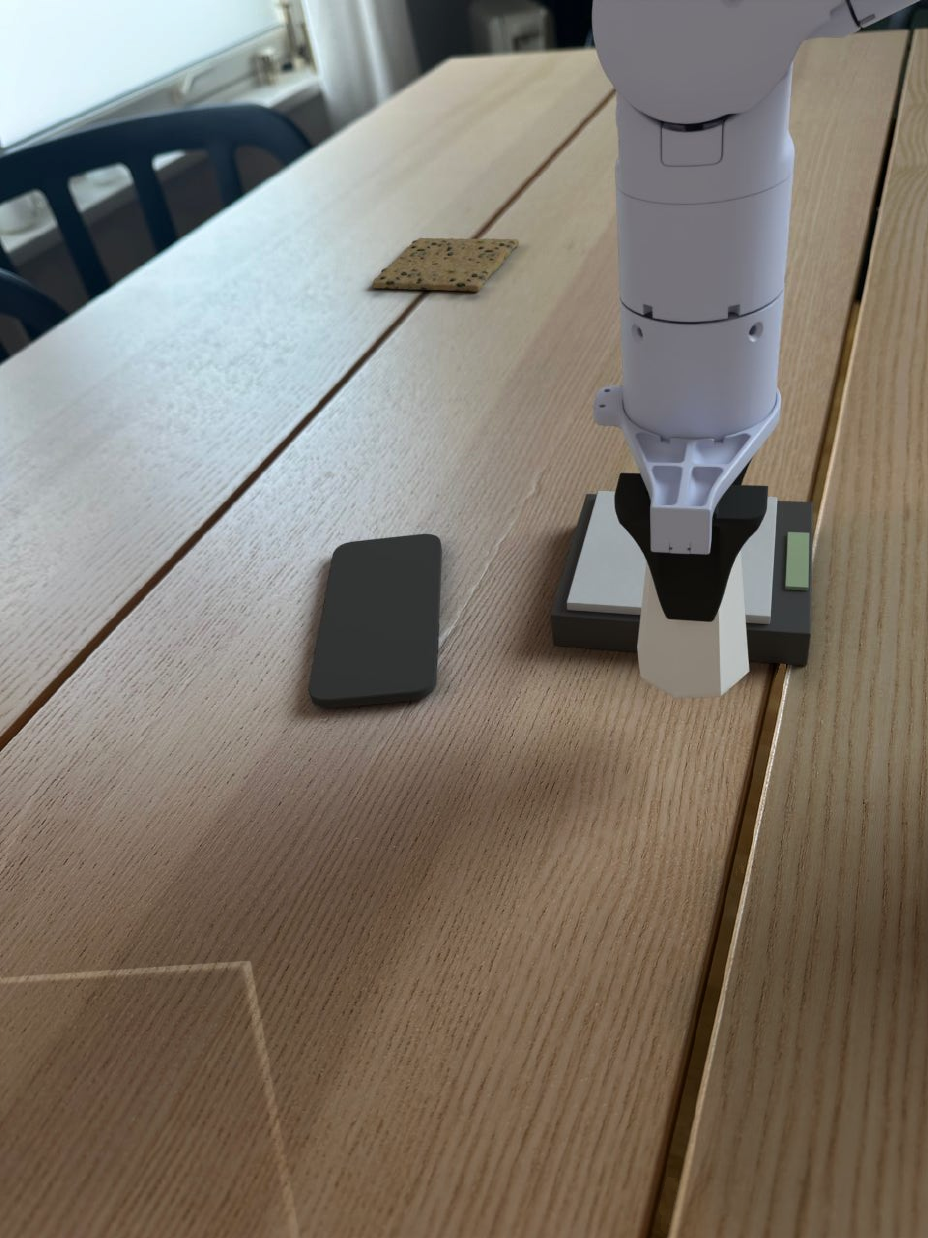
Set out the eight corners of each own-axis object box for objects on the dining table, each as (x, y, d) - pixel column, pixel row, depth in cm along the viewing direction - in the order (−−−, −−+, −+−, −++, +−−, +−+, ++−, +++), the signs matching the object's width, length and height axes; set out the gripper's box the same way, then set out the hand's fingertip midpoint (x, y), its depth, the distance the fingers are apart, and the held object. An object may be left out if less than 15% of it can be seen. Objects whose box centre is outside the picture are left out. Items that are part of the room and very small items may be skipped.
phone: (442, 531, 66) (435, 690, 54) (443, 541, 66) (437, 700, 55) (333, 542, 66) (304, 702, 55) (336, 552, 67) (308, 712, 55)
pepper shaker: (713, 610, 49) (721, 418, 42) (773, 679, 45) (792, 480, 38) (615, 644, 48) (605, 455, 41) (667, 717, 44) (666, 521, 37)
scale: (809, 532, 61) (814, 493, 60) (807, 666, 53) (812, 625, 51) (587, 522, 65) (585, 485, 63) (553, 645, 57) (549, 607, 55)
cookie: (521, 242, 104) (520, 233, 103) (479, 292, 96) (478, 282, 95) (419, 241, 108) (417, 232, 107) (371, 288, 100) (369, 279, 99)
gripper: (616, 216, 41) (626, 486, 50) (551, 390, 31) (578, 690, 40) (793, 208, 39) (771, 490, 48) (786, 390, 29) (759, 706, 38)
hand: (694, 582), depth 44 cm, fingers closed on pepper shaker, 4 cm apart
